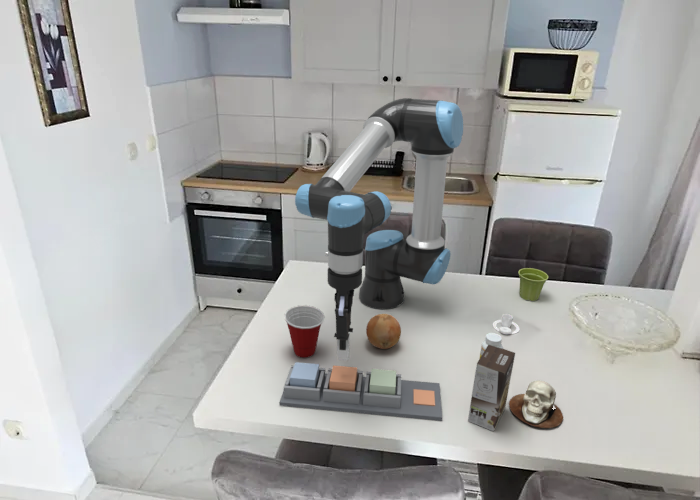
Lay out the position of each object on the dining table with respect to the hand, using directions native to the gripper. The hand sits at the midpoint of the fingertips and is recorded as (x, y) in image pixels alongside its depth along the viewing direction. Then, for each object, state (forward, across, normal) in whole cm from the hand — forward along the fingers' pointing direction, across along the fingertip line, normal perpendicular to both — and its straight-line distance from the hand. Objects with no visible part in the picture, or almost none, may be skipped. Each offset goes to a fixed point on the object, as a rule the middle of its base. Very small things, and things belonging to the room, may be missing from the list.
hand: (343, 357), depth 114 cm
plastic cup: (+11, -16, -12) cm, 23 cm away
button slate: (+8, 0, -9) cm, 12 cm away
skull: (+11, -1, +46) cm, 47 cm away
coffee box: (+11, +2, +34) cm, 36 cm away
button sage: (+8, 0, +10) cm, 13 cm away
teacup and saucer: (+11, -36, +42) cm, 57 cm away
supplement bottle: (+11, -16, +37) cm, 42 cm away
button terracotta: (+8, 0, 0) cm, 8 cm away
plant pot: (+10, -57, +56) cm, 81 cm away
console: (+11, 0, +5) cm, 12 cm away
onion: (+11, -22, +9) cm, 26 cm away
